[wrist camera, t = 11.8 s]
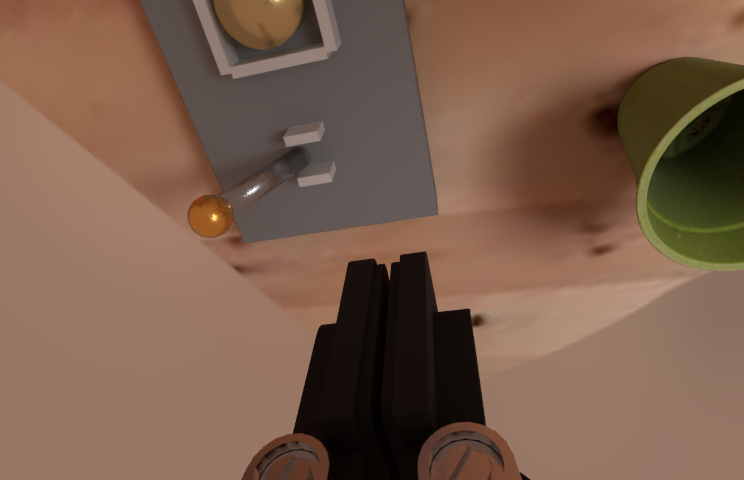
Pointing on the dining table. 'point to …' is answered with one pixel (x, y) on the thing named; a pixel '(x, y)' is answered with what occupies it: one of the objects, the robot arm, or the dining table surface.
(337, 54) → the switch panel
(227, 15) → the brass button
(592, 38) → the dining table surface
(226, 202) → the lever
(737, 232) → the plant pot
